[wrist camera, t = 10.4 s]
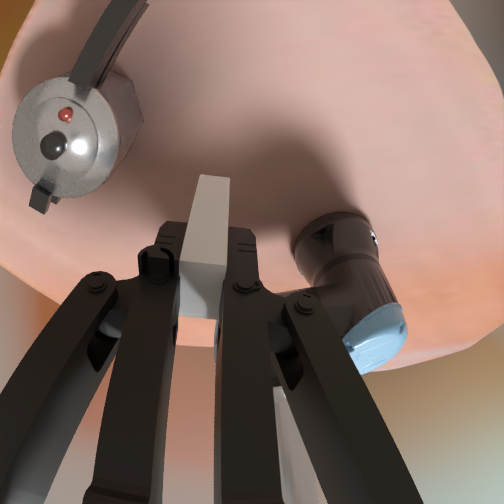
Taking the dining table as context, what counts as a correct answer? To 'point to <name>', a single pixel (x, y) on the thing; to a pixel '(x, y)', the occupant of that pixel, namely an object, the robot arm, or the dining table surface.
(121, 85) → the cooker pot
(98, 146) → the lid
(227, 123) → the dining table surface
